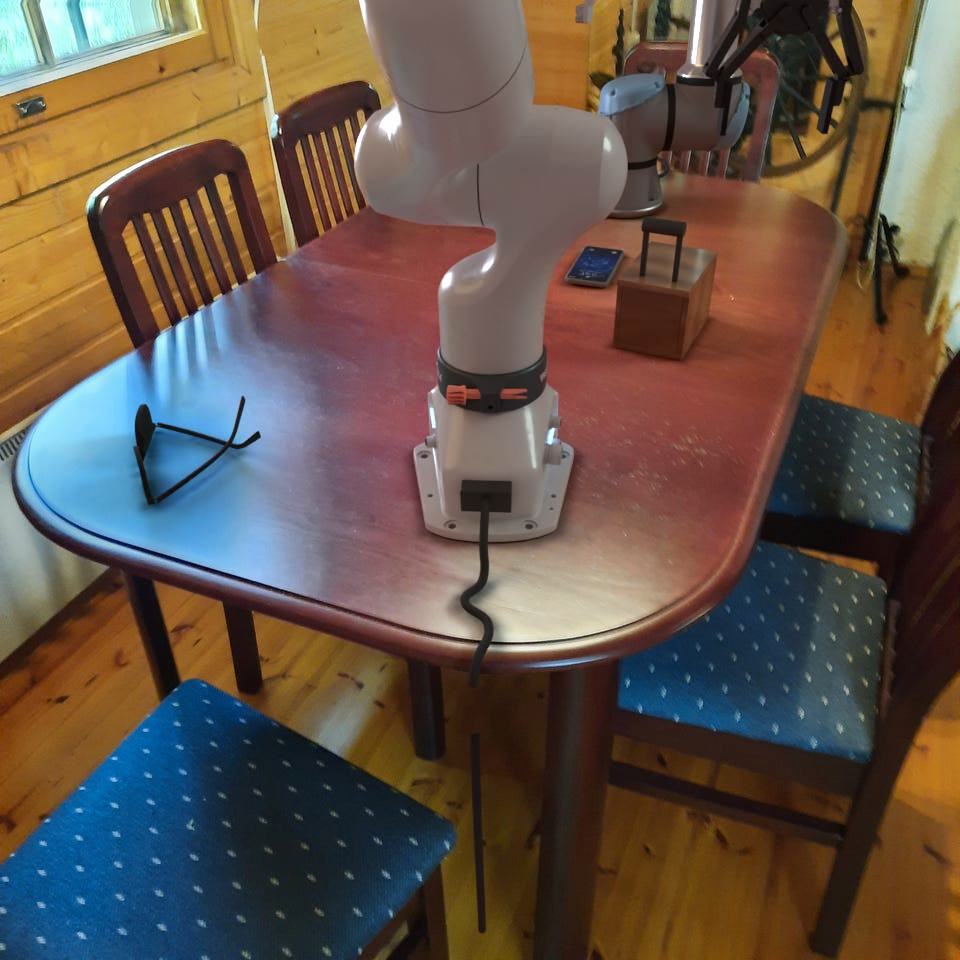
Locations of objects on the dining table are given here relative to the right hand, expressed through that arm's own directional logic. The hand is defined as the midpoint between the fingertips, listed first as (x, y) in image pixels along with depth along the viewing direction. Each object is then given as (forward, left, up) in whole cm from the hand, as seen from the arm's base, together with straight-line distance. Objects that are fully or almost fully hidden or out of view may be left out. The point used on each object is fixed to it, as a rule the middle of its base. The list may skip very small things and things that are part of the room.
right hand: (771, 132), depth 116 cm
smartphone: (-15, -21, -26) cm, 36 cm away
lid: (+9, -13, -16) cm, 23 cm away
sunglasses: (+41, -72, -26) cm, 87 cm away
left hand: (+11, -31, +16) cm, 37 cm away
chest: (+8, -13, -26) cm, 30 cm away
